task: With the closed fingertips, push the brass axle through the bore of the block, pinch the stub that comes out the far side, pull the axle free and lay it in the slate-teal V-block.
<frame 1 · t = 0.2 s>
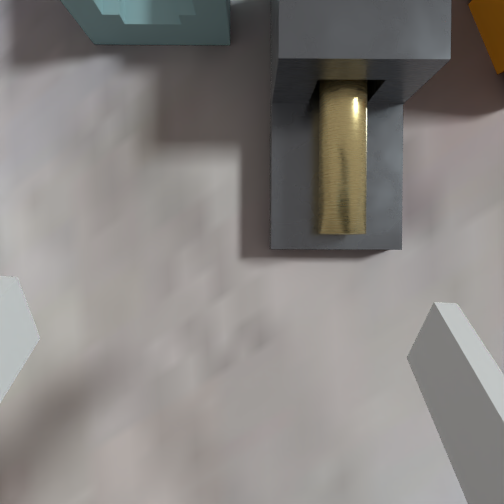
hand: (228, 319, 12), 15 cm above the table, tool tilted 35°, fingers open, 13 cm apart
block: (331, 120, 27), on the table
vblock: (162, 3, 27), on the table
axle: (337, 103, 25), point 2 cm above the table, touching block
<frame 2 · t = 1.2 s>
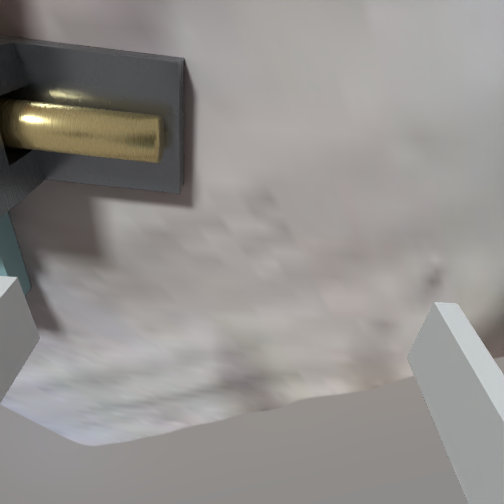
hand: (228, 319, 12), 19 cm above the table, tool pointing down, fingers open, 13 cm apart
block: (52, 111, 27), on the table
axle: (31, 117, 25), point 2 cm above the table, touching block
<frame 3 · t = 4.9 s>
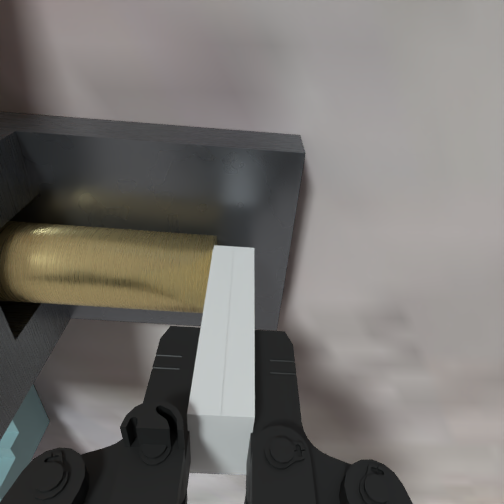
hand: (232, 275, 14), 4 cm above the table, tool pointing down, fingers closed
block: (79, 217, 17), on the table
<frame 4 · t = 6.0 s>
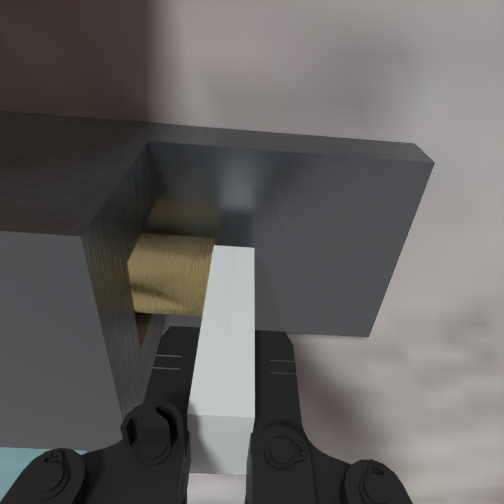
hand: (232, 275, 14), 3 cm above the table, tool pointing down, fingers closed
block: (178, 224, 17), on the table
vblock: (52, 382, 24), on the table
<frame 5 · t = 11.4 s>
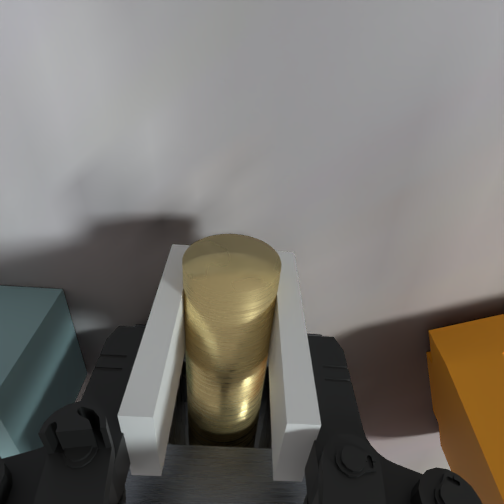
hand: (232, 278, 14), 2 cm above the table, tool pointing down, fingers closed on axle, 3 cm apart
block: (223, 433, 23), on the table
axle: (226, 395, 17), point 2 cm above the table, touching block, gripper
bracket: (497, 366, 20), on the table
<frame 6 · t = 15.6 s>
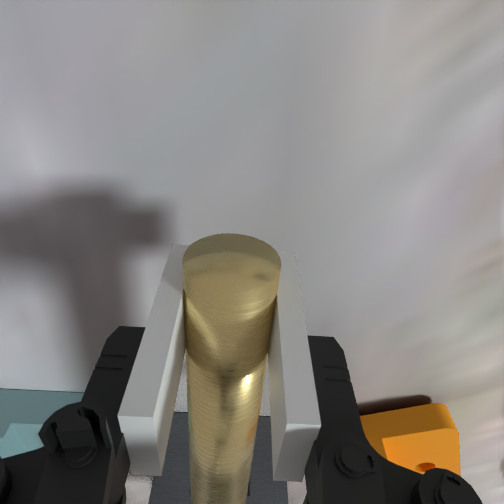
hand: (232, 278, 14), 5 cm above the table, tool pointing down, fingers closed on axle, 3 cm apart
block: (221, 470, 34), on the table
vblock: (64, 414, 29), on the table
axle: (226, 395, 18), point 6 cm above the table, touching gripper
bracket: (398, 432, 31), on the table
when the fingers open (4 cm above the table, at t = 19.9 s): axle drops 2 cm, resting on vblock.
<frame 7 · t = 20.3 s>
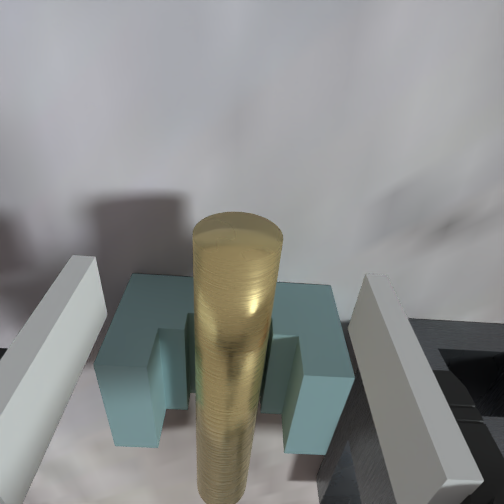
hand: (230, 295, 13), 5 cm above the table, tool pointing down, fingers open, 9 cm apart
block: (404, 417, 26), on the table
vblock: (230, 321, 20), on the table
axle: (228, 367, 19), point 2 cm above the table, touching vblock
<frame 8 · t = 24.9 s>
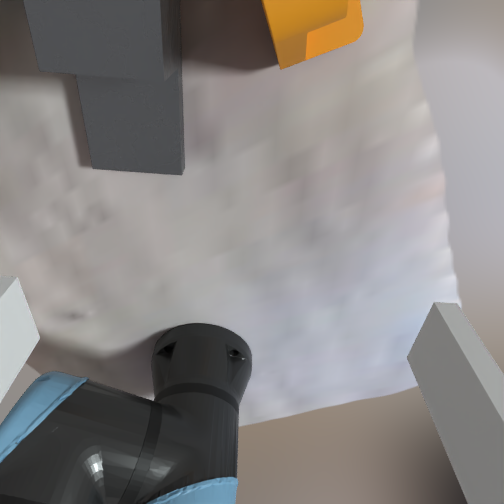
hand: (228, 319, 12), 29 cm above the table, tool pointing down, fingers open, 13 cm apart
block: (132, 65, 34), on the table
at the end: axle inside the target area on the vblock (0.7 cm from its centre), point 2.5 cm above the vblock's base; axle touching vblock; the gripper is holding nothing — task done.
